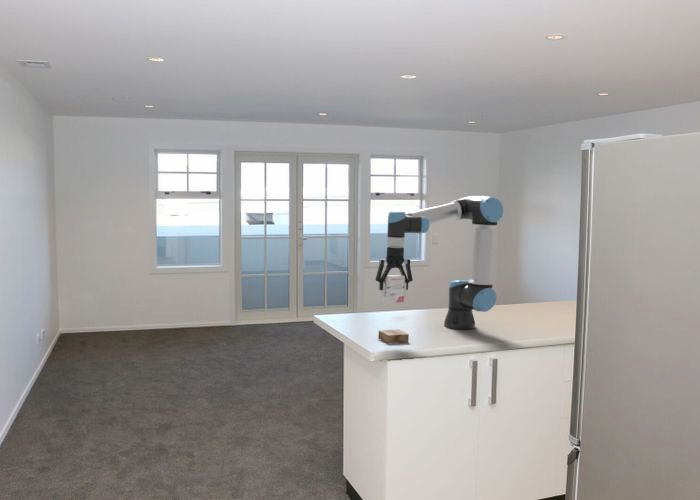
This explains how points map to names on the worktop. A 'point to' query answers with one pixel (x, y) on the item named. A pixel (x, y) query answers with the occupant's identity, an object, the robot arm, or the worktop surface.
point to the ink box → (394, 288)
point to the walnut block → (393, 336)
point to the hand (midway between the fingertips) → (393, 297)
